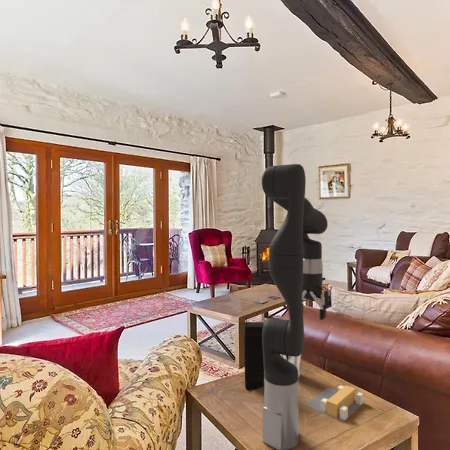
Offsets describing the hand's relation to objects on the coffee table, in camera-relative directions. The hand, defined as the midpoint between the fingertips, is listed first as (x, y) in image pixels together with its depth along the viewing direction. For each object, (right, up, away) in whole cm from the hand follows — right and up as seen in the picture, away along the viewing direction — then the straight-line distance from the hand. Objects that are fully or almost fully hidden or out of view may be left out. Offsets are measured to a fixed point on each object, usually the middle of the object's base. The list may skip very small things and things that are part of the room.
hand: (311, 316), depth 123 cm
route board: (+5, -26, -10) cm, 28 cm away
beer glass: (-5, -26, +9) cm, 28 cm away
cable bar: (+6, -25, -13) cm, 29 cm away
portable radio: (-19, -26, +4) cm, 32 cm away
